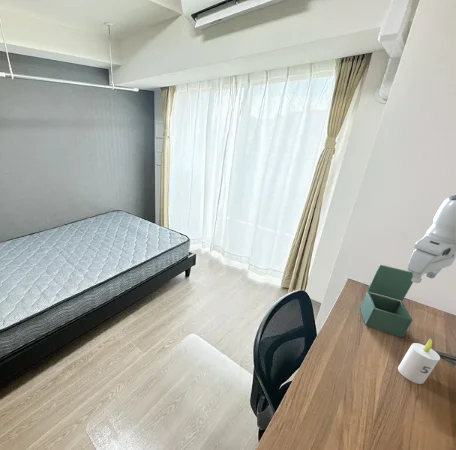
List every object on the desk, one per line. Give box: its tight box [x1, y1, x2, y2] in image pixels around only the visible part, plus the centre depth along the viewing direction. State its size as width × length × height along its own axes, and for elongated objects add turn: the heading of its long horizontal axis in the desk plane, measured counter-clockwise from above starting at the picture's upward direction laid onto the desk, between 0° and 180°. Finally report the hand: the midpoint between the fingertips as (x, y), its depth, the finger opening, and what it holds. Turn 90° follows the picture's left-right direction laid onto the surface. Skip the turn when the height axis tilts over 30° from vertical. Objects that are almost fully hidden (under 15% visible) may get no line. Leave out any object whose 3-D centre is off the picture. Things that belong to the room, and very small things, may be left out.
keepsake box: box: [359, 291, 413, 338], centre depth 100 cm, size 13×12×9 cm
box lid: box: [367, 264, 414, 302], centre depth 102 cm, size 14×12×5 cm
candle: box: [397, 338, 441, 385], centre depth 77 cm, size 6×6×15 cm
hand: (422, 279), depth 84 cm, fingers open, 8 cm apart
